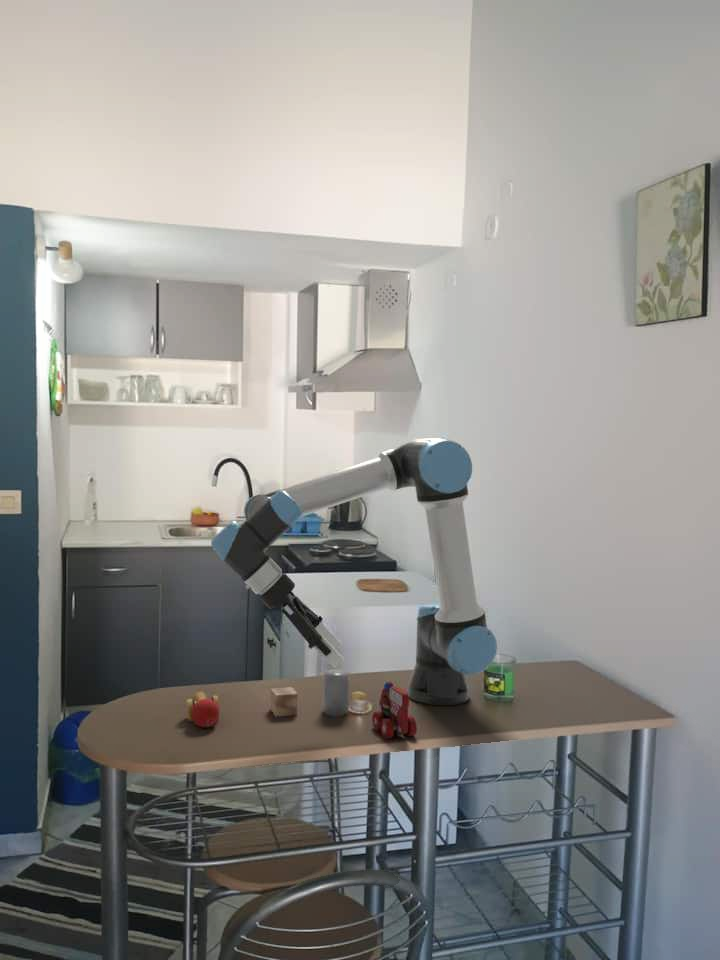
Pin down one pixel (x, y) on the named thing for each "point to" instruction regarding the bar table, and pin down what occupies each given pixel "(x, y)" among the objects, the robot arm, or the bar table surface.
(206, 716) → the kendama
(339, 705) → the light grey cylinder
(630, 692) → the bar table surface
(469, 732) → the bar table surface
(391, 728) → the toy fire truck
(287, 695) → the light brown cube
